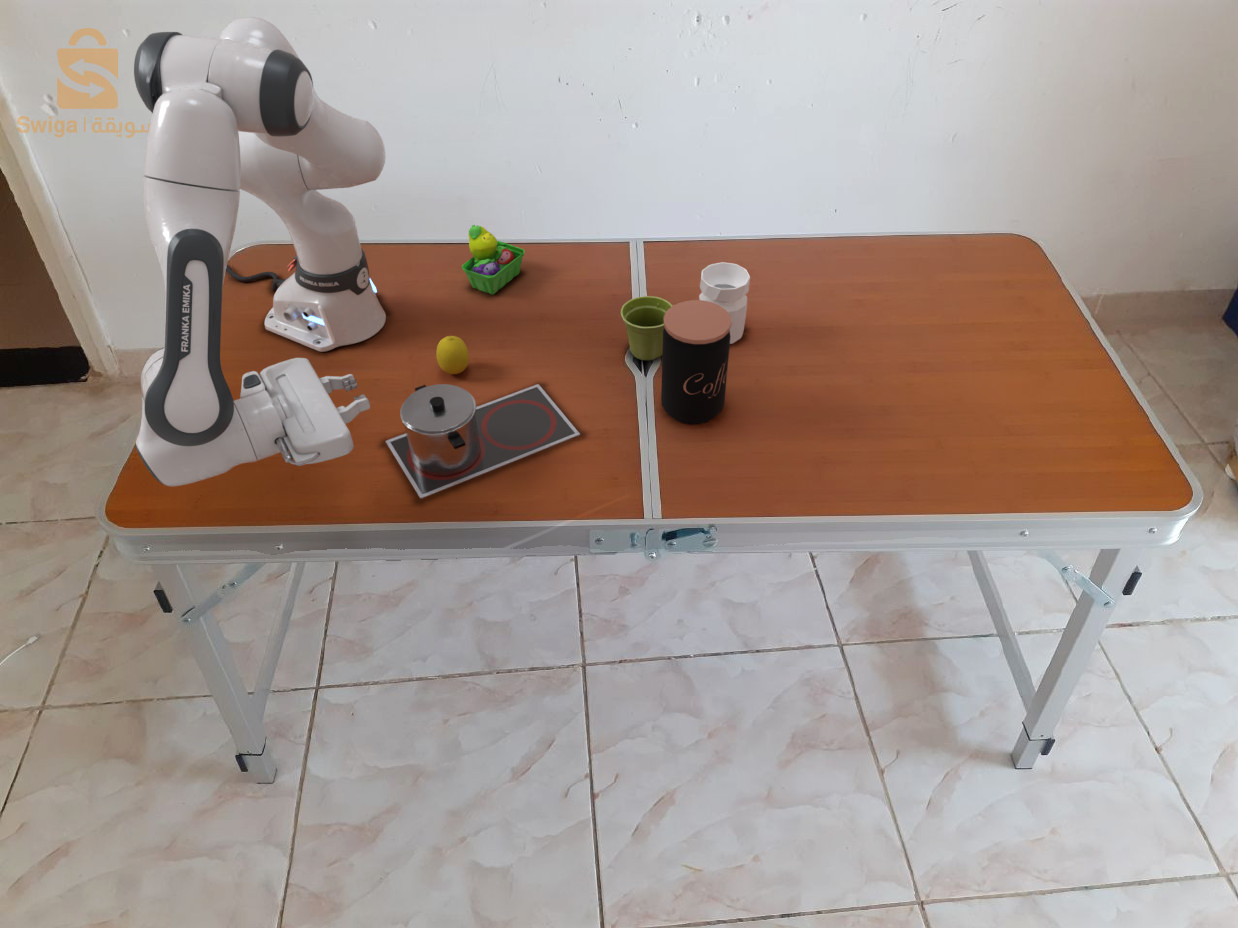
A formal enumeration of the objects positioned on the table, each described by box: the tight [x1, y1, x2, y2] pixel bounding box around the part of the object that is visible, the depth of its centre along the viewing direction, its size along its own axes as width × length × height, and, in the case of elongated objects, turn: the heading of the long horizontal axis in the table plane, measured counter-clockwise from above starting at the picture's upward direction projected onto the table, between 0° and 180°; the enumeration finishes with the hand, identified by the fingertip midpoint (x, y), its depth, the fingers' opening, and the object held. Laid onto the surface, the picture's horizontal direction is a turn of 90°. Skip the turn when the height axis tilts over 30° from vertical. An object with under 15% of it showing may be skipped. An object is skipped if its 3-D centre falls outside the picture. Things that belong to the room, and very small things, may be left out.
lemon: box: [435, 335, 470, 375], centre depth 166 cm, size 6×6×8 cm
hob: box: [385, 383, 581, 500], centre depth 156 cm, size 28×15×1 cm, turn 120°
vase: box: [698, 261, 751, 345], centre depth 173 cm, size 9×9×12 cm
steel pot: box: [399, 383, 480, 476], centre depth 150 cm, size 12×16×11 cm
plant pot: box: [620, 295, 673, 361], centre depth 170 cm, size 9×9×9 cm
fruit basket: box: [461, 224, 526, 296], centre depth 186 cm, size 11×9×11 cm
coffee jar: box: [660, 299, 732, 426], centre depth 156 cm, size 11×11×18 cm
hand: (361, 390), depth 138 cm, fingers open, 4 cm apart
